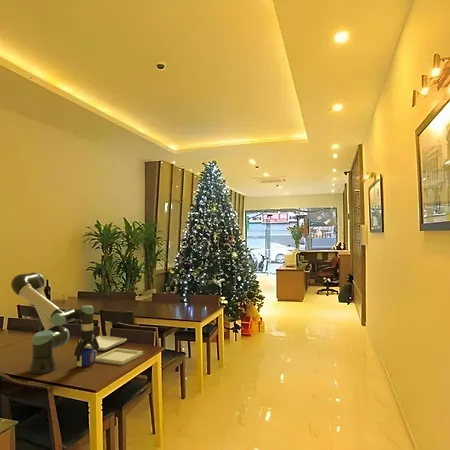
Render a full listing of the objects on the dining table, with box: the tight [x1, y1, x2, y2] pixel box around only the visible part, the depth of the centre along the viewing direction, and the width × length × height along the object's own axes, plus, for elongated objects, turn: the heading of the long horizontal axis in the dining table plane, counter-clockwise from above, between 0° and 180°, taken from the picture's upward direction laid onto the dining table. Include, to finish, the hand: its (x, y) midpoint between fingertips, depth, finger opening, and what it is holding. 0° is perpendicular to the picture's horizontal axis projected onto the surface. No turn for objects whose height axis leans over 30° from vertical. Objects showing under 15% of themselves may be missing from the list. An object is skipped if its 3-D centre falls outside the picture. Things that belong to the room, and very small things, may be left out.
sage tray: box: [94, 347, 144, 366], centre depth 256 cm, size 23×23×2 cm
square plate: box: [84, 335, 128, 351], centre depth 287 cm, size 27×27×4 cm
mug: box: [80, 348, 97, 368], centre depth 241 cm, size 8×12×10 cm
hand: (87, 362), depth 241 cm, fingers open, 13 cm apart
